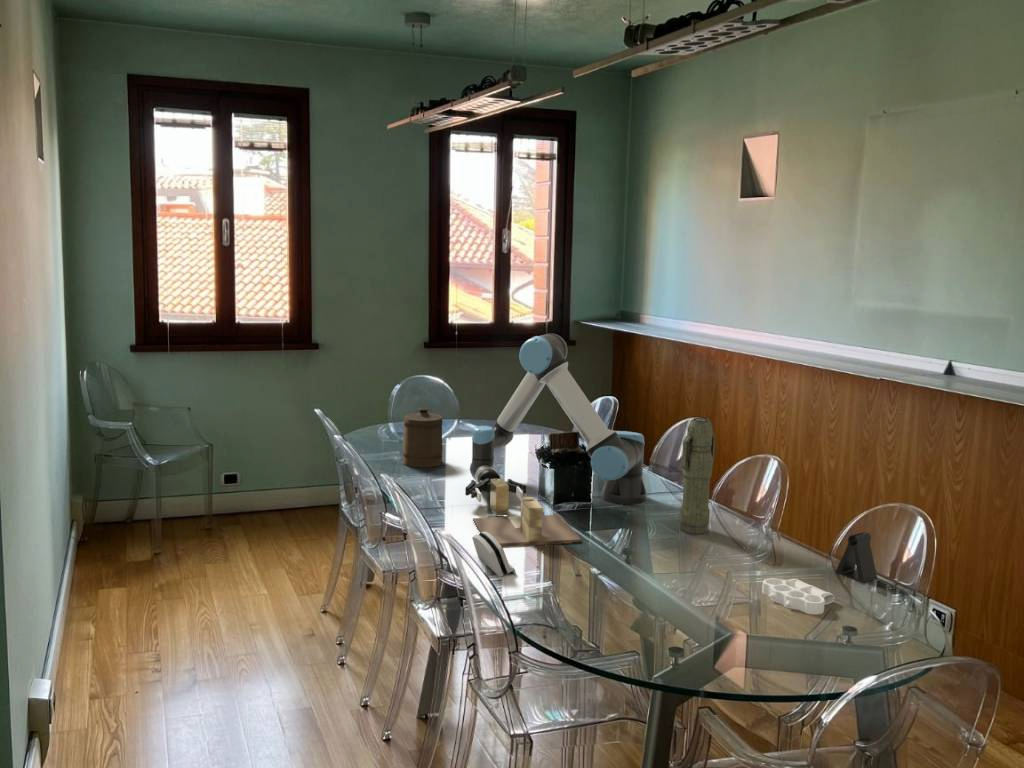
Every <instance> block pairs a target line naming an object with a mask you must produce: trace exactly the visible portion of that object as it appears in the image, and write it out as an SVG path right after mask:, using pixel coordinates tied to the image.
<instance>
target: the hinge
mask: <svg viewBox="0 0 1024 768" xmlns="http://www.w3.org/2000/svg"><path fill="white" fill-rule="evenodd" d="M471 539H472V541H473V545H474V548H475V552H476V555H477V558H479V559H480V560H481V561H482V562H483V563H484V564H485V565H486V566H487V567H488V568H490V570H492V572H493V573H495V574H496V575H497V576H498V577H499V578H501V577H504V575H505V574H510V573H512V574H513V575H514V576H515V575H517V572H516V569H515V568H514V566H512V565H511V564H510V563H509V560H508V558H507V556H506V552H505V550H504V548H503V547H501V545H500V544H499V543H498V541H497V540H496V539H495V538H494V537H493V536H492V535H491V534H490V533H488V532H481V533H479V534H474V536H472V537H471Z"/></svg>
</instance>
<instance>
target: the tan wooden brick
mask: <svg viewBox="0 0 1024 768" xmlns="http://www.w3.org/2000/svg"><path fill="white" fill-rule="evenodd" d="M509 493H510V492H509V486H508V485H507V483H506V480H504V478H501V479H491V486H490V493H489V494H490V495H489V499H490V500H489V509H490V508H491V509H490V511H491V510H492V511H493V512H494V514H495V515H496V516H497V515H508V516H509V496H510V495H509ZM492 511H491V512H492ZM493 512H492V513H493ZM494 514H493V515H494ZM495 515H494V516H495Z"/></svg>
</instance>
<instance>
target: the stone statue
mask: <svg viewBox="0 0 1024 768" xmlns="http://www.w3.org/2000/svg"><path fill="white" fill-rule="evenodd" d="M686 432H687V433H686V435H685V436H684V438H683V440H682V452H681V453H682V454H681V467H682V476H683V489H682V502H681V503H682V504H681V506H680V509H679V531H680V532H681V533H684V534H688V535H693V536H699V535H706V534H707V533H708V532H709V525H710V511H711V510H710V507H709V503H710V502H709V500H710V498H709V496H710V488H711V487H710V483H711V478H712V476H713V466H714V462H715V447H716V446H715V445H716V435H715V433H713V432H714V428H713V425H712V421H711V420H710V419H708V418H704V417H695V418H692V419H690V421H689V423H688V425H687V431H686Z"/></svg>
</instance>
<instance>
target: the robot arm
mask: <svg viewBox="0 0 1024 768" xmlns="http://www.w3.org/2000/svg"><path fill="white" fill-rule="evenodd" d="M518 357H519V362H520V365H521V367H522V369H524V371H526V372H527V373H526V374H525V376H524V377H523V378H522V380H521V382H520V383H519V384H518V387H516V389H515V391H514V393H513V394H512V395H511V397H510V399H509V400H508V402H507V403H506V405H505V406H504V408H503V410H502V411H501V413H500V415H499V416H498V417H497V420H496V421H494V423H493V425H492V427H491V426H487V425H480V426H475V427H474V428H473V429H472V437H471V442H472V444H471V445H472V446H471V447H472V450H471V451H472V452H471V457H472V458H471V462H470V465H469V472H470V474H471V477H472V478H473V479H471V481H470V482H469V484H467V486H466V487H465V489H464V490H465V494H464V495H465V496H470V498H471V499H475V498H476V500H477V502H478V503H481V502H482V492H483V493H488V494H490V486H491V479H502V478H501V476H500V474H499V473H498V472H497V470H496V469H495V468H494V462H495V461H494V460H495V457H494V455H495V451H496V450H498V449H500V448H502V447H506V446H507V445H509V443H511V442H512V441H513V439H514V433H515V431H516V430H517V428H518V427H519V425H520V424H521V422H522V421H523V419H524V418H525V416H526V415H527V413H528V411H529V410H530V408H532V405H533V404H534V403H535V400H536V399H537V398H538V396H539V395H540V393H541V392H542V391H543V388H544V387H545V385H546V386H547V388H548V389H549V390H550V392H551V394H552V395H553V396H554V398H555V400H557V401H556V402H558V404H559V405H560V406H561V408H562V410H563V411H564V413H565V414H566V416H567V417H568V419H569V420H570V422H571V423H572V424H573V426H574V428H575V429H576V430H577V432H578V433H579V435H580V436H581V438H582V439H583V441H584V442H585V444H586V449H585V451H586V453H587V455H588V456H589V458H590V466H591V469H592V472H594V474H595V475H596V476H597V477H598V478H600V479H602V480H605V483H604V485H603V487H602V490H601V498H602V499H603V500H605V501H607V502H611V503H614V504H620V505H621V504H622V505H633V504H641V503H644V502H646V501H647V489H646V487H645V481H644V478H643V469H644V455H645V452H644V451H645V437H644V435H643V434H642V433H639V432H633V431H626V430H623V431H622V430H613V429H609V428H608V427H607V425H606V424H605V422H604V421H603V419H602V418H601V417H600V415H599V413H598V412H597V411H596V409H595V408H594V407H593V405H592V404H591V402H590V400H589V399H588V398H587V396H586V394H585V393H584V392H583V390H582V389H581V387H580V386H579V384H578V383H577V382H576V380H575V379H574V377H573V376H572V374H571V372H570V371H569V370H568V367H569V362H568V360H567V357H568V345H567V342H566V341H565V339H564V338H562V337H561V336H560V335H558V334H556V333H552V332H551V333H545V334H542V335H539V336H538V335H535V336H532V337H531V338H529V339H527V340H526V341H525V342H524V343H523V344H522V345H521V347H520V350H519V356H518ZM505 482H506V483H507V485H508V486H509V493H514V494H515V495H516V497H517V498H518V499H519V500H520V501H521V498H523V497H524V496H525V494H527V485H525V484H523V483H520V482H517V481H515V480H513V479H512V478H508V479H507V480H505Z"/></svg>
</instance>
